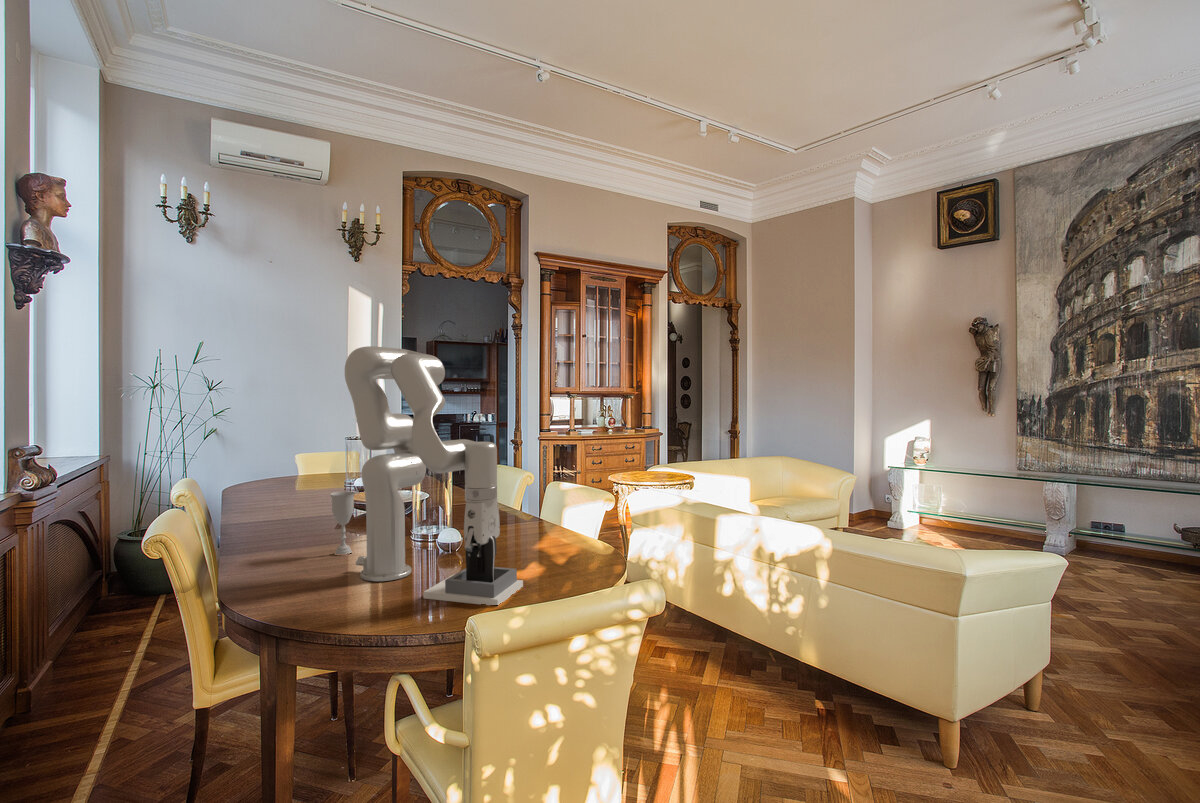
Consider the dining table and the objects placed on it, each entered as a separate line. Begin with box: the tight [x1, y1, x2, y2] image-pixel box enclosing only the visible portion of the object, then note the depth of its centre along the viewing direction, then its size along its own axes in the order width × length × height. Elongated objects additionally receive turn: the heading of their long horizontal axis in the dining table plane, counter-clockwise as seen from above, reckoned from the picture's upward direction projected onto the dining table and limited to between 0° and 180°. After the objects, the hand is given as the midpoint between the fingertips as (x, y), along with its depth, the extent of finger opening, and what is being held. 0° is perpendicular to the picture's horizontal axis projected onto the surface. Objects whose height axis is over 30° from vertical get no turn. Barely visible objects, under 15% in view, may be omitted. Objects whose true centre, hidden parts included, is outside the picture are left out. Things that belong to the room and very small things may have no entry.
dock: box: [422, 566, 524, 606], centre depth 143 cm, size 19×14×4 cm
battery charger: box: [464, 536, 497, 583], centre depth 143 cm, size 7×4×11 cm, turn 80°
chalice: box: [329, 490, 356, 554], centre depth 177 cm, size 7×7×18 cm
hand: (481, 569), depth 143 cm, fingers open, 4 cm apart
